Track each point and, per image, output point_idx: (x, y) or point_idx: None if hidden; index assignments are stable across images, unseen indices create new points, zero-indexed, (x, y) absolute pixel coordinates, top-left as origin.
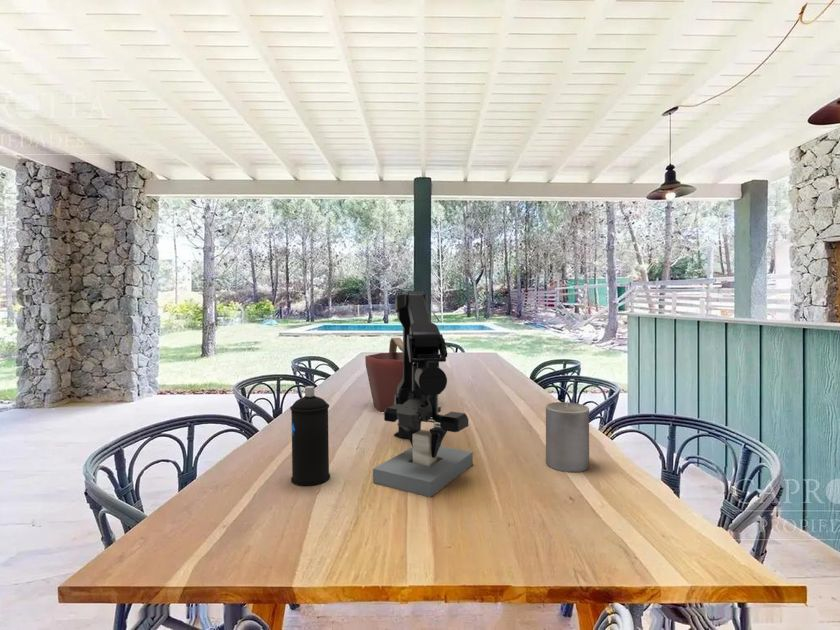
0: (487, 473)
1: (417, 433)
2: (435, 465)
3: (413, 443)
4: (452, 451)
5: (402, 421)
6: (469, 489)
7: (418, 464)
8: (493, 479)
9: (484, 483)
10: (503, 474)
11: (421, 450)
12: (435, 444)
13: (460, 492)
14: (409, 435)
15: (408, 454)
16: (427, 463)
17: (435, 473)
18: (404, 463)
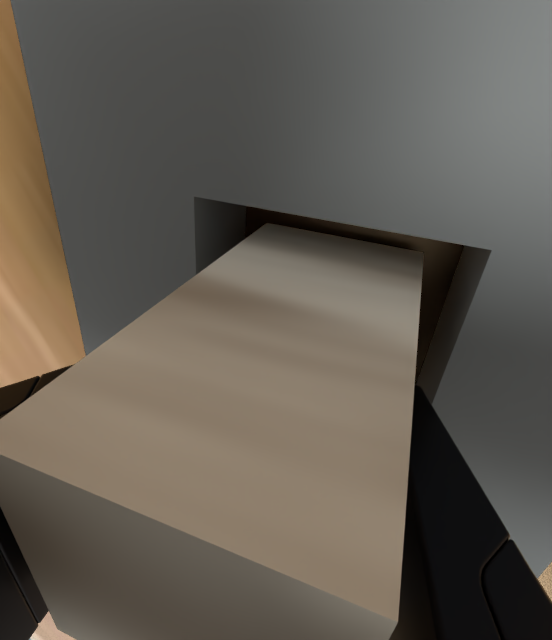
0: (62, 367)
1: (283, 631)
2: (174, 245)
3: (390, 415)
4: None
5: None
6: (3, 141)
7: (323, 213)
8: (8, 310)
9: (4, 252)
10: (15, 369)
11: (262, 322)
12: (42, 379)
13: (7, 66)
14: (531, 633)
15: (526, 444)
16: (240, 248)
17: (66, 34)
18: (505, 180)
